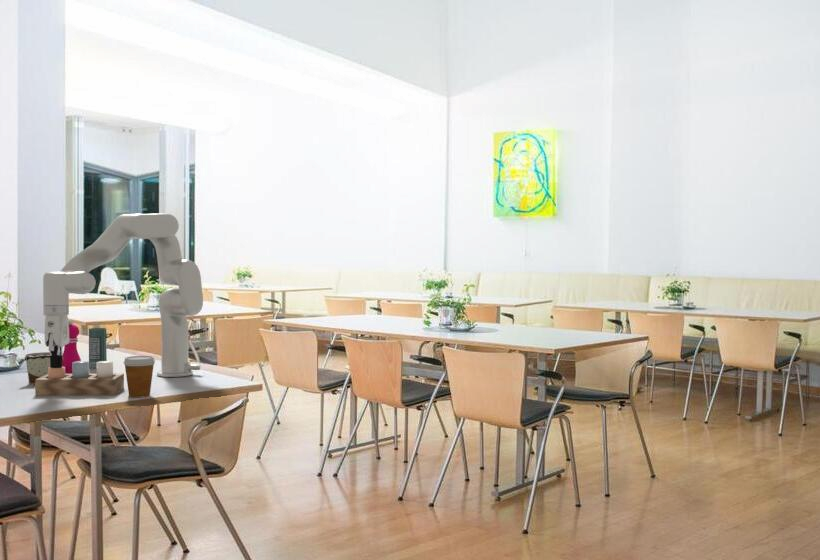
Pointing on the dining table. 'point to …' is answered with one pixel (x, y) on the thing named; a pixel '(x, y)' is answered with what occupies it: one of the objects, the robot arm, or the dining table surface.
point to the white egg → (104, 369)
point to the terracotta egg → (56, 372)
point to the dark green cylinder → (97, 346)
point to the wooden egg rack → (79, 385)
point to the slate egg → (80, 369)
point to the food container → (37, 365)
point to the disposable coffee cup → (139, 375)
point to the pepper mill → (71, 349)
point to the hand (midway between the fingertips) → (56, 367)
